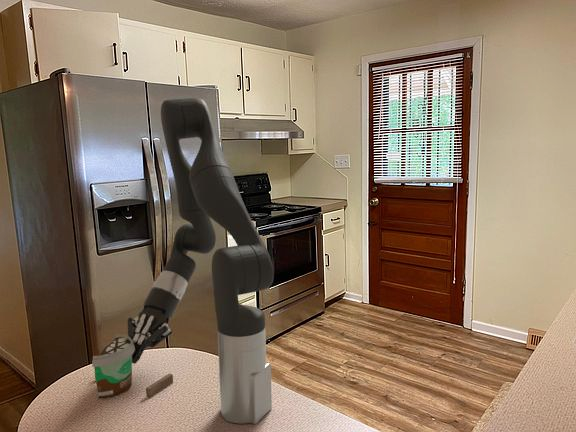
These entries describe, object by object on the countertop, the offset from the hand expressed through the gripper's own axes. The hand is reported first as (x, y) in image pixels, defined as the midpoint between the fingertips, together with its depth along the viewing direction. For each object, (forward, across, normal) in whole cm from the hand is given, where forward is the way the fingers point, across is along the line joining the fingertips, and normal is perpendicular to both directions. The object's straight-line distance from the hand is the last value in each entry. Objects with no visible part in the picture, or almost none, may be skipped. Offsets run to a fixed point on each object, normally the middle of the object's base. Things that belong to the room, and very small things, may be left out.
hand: (130, 361), depth 99 cm
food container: (+6, 0, +2) cm, 6 cm away
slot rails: (+3, 0, +4) cm, 5 cm away
